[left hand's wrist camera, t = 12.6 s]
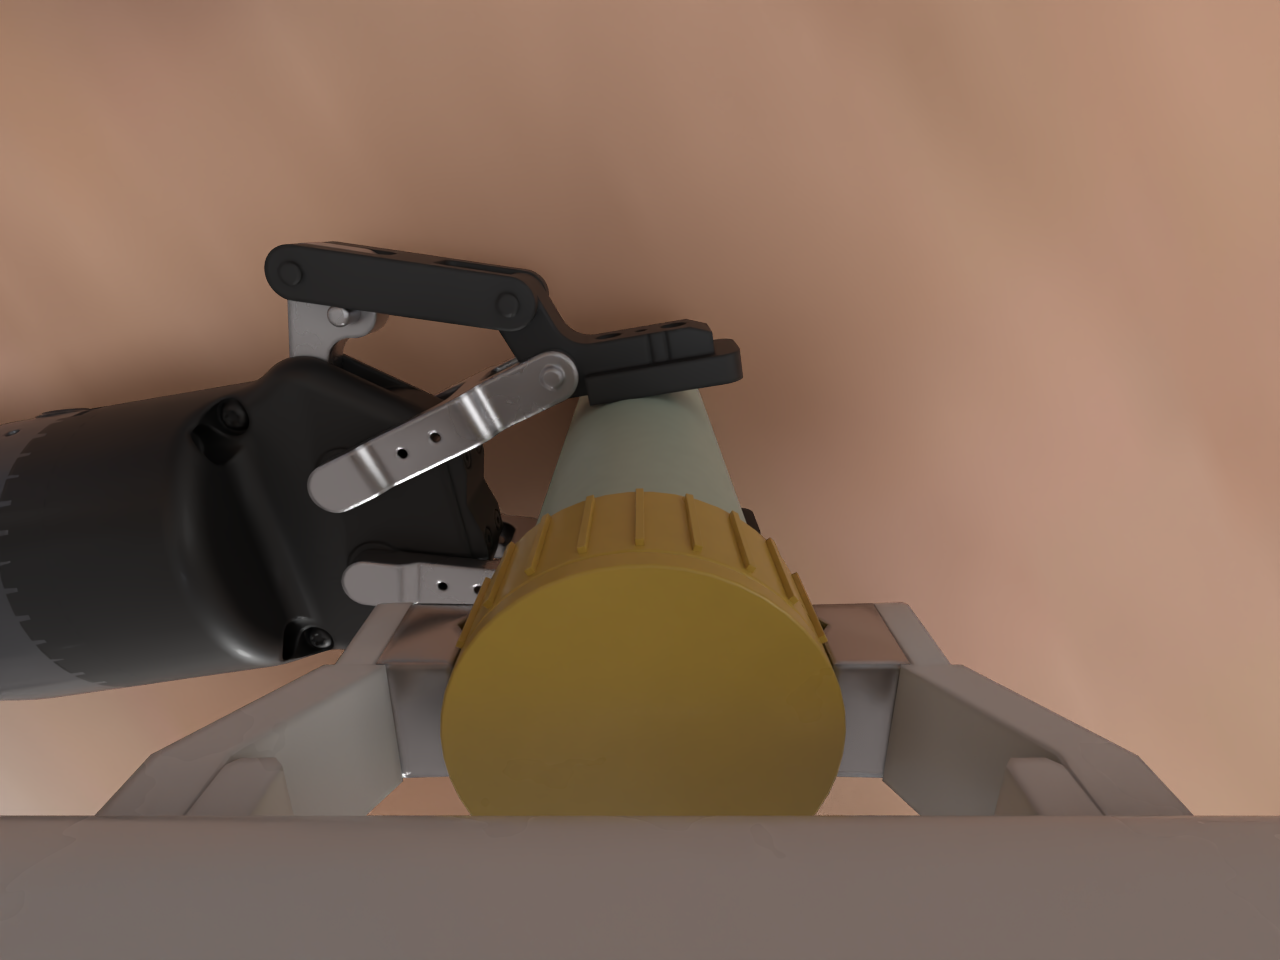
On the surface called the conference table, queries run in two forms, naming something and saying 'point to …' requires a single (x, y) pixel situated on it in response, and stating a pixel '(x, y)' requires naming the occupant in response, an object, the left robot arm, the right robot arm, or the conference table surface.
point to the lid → (642, 671)
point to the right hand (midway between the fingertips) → (744, 448)
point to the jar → (641, 453)
